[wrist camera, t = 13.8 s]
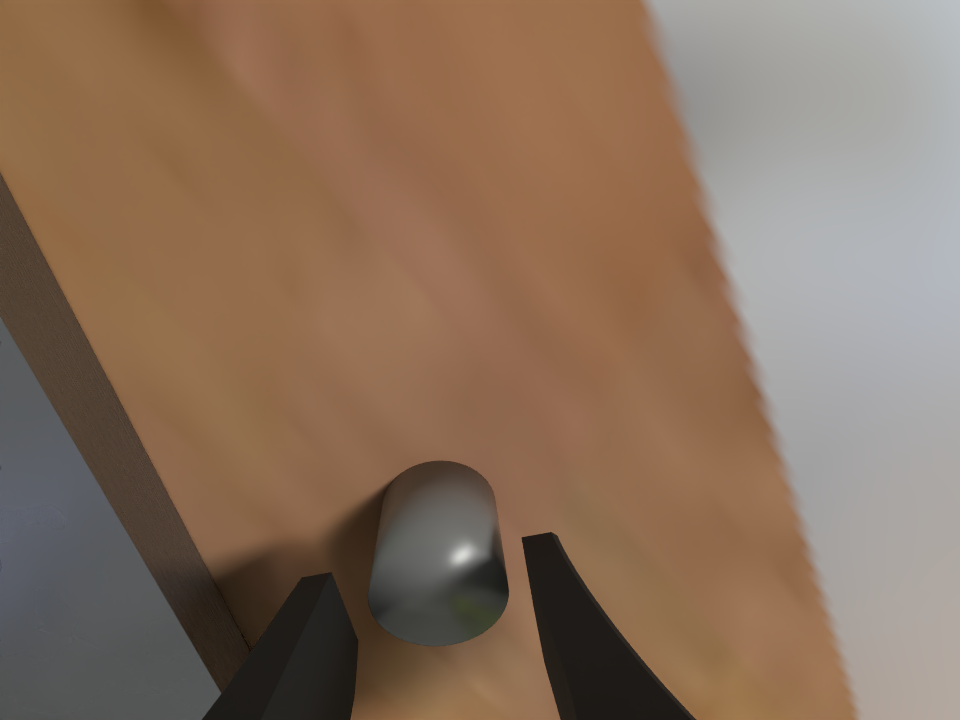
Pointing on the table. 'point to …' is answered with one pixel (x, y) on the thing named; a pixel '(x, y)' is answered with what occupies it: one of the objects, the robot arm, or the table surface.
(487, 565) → the cover
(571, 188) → the table surface
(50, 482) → the panel
